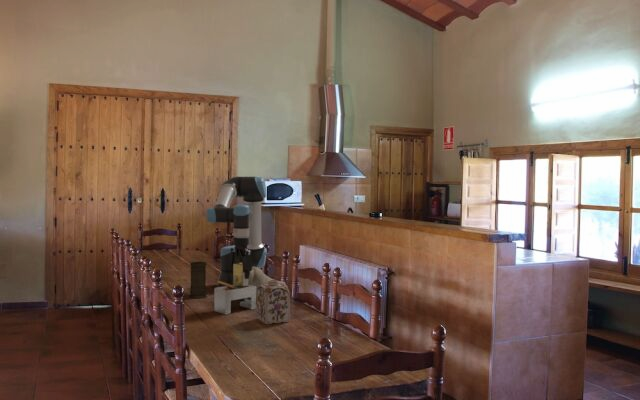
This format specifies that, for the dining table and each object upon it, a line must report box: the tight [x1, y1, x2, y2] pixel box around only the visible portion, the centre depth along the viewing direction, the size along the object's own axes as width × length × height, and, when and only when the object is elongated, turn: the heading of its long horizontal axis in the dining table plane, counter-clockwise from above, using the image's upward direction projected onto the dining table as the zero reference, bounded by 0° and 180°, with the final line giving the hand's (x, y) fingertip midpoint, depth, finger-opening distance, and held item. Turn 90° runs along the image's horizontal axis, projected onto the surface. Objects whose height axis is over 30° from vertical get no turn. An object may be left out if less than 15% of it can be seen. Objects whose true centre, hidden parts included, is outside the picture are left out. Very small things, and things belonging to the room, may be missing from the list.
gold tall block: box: [233, 263, 245, 303], centre depth 268 cm, size 7×7×18 cm
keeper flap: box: [216, 280, 235, 288], centre depth 262 cm, size 7×6×1 cm
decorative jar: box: [256, 279, 291, 325], centre depth 247 cm, size 12×12×18 cm
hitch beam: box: [213, 284, 257, 315], centre depth 266 cm, size 18×9×11 cm, turn 135°
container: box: [189, 261, 208, 299], centre depth 293 cm, size 9×9×18 cm
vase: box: [248, 267, 286, 299], centre depth 287 cm, size 22×22×28 cm
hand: (240, 284), depth 268 cm, fingers closed on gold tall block, 7 cm apart
